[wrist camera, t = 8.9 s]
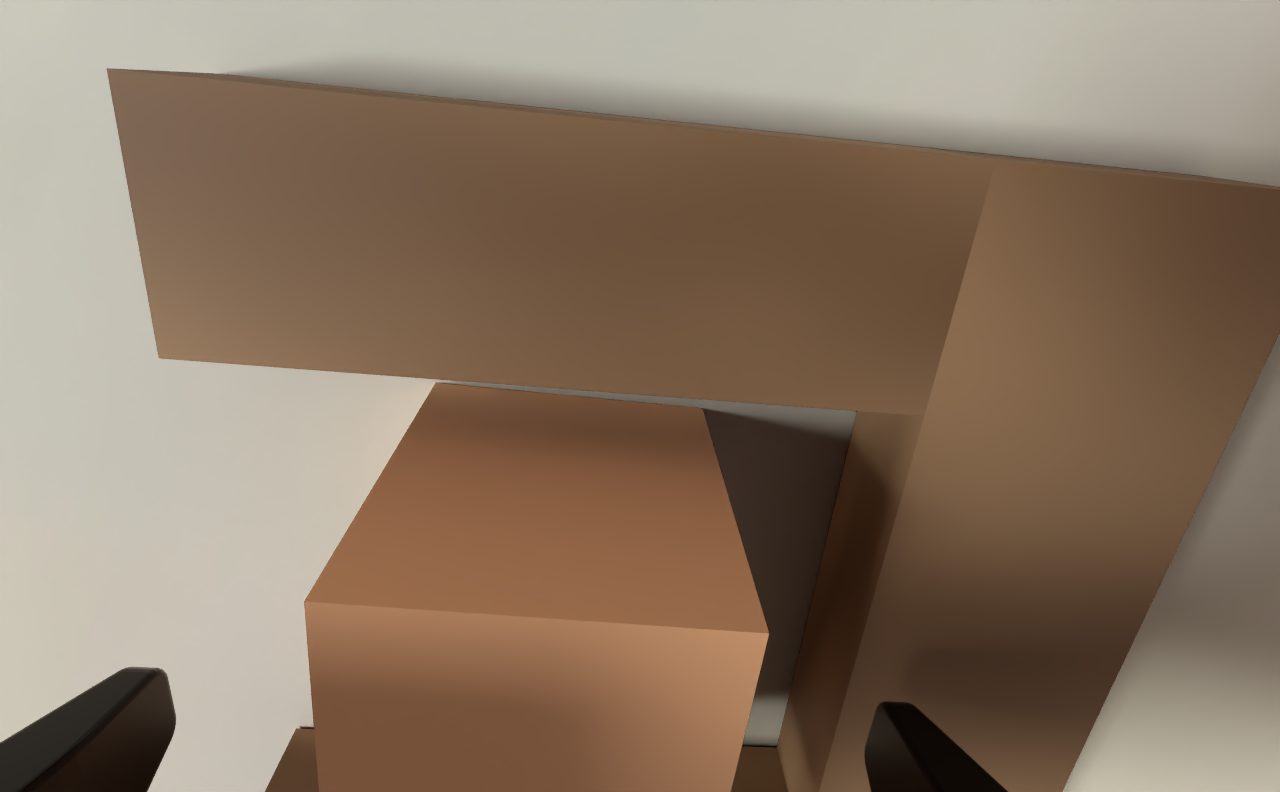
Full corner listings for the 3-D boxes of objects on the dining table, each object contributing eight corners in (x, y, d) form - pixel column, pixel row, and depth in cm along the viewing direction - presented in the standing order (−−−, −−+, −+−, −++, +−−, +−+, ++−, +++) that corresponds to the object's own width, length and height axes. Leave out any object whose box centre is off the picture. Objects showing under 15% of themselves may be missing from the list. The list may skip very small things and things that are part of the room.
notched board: (936, 856, 15) (981, 961, 13) (310, 838, 14) (265, 949, 12) (1203, 176, 10) (1344, 196, 8) (213, 73, 9) (106, 68, 7)
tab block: (652, 698, 13) (674, 1021, 9) (433, 685, 13) (335, 1014, 8) (701, 406, 11) (768, 633, 6) (437, 379, 11) (304, 601, 6)
